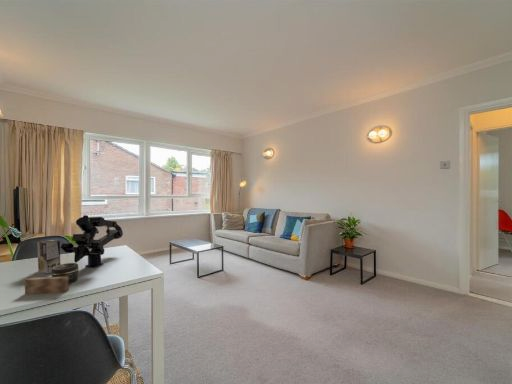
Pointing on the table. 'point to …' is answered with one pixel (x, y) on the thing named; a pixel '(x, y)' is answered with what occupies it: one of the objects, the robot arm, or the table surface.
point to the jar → (66, 271)
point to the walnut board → (46, 285)
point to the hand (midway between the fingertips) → (75, 262)
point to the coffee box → (48, 255)
